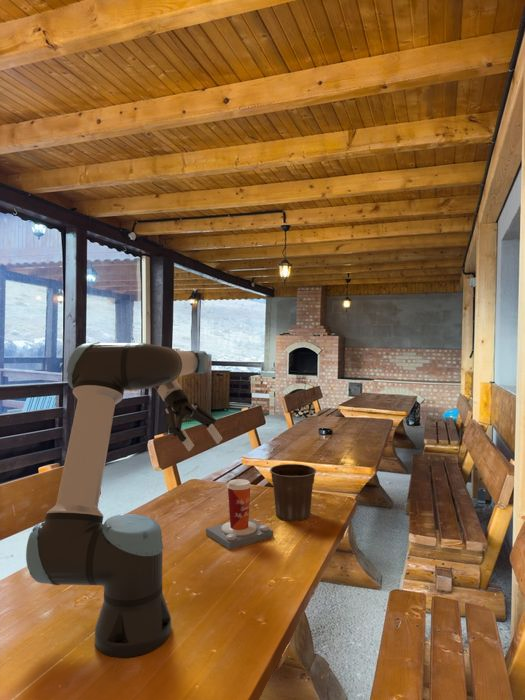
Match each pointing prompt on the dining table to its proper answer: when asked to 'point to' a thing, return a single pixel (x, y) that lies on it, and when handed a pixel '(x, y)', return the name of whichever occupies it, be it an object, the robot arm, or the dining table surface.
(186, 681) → the dining table surface
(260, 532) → the grey flat block
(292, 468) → the plant pot
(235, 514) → the paper cup
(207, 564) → the dining table surface
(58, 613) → the dining table surface
